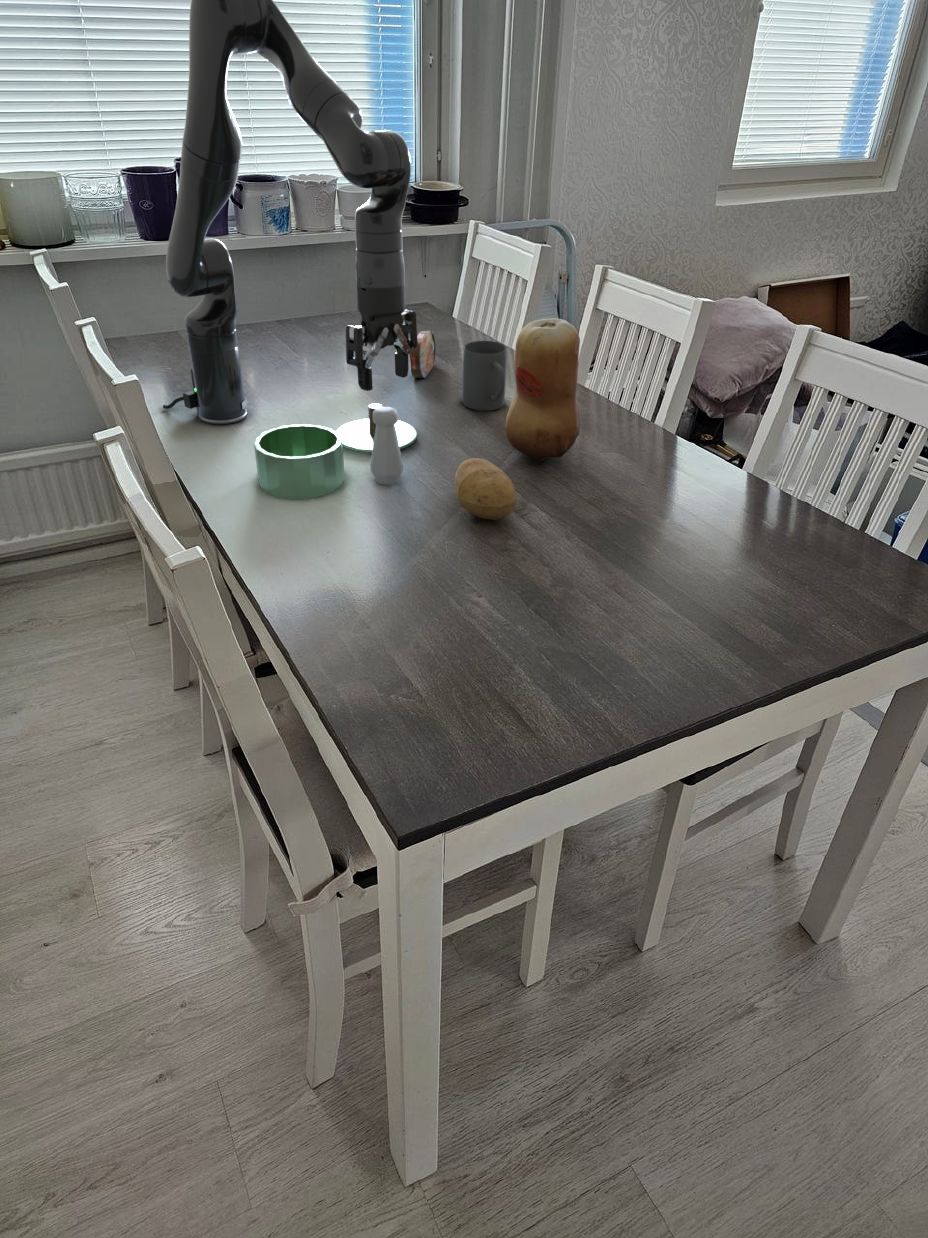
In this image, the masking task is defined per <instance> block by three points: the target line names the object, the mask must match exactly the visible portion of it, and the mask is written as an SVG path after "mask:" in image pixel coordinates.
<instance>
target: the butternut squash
mask: <svg viewBox="0 0 928 1238" xmlns="http://www.w3.org/2000/svg"><path fill="white" fill-rule="evenodd" d="M580 344H581V338H580V335H579V332H578V330H577V328H576V327H575V326H574V325H573V324H571V323H570V322H569V321H567V320H565V319H562V318H557V317H555V318H552V317H551V318H541V319H536V320H534V321H530V322H529V323H527V324H526V325H525V326H524V327H522V328H521V330H520V331H519V333H518V335H517V338H516V341H515V349H514V362H513V368H514V370H513V371H514V372H513V373H514V381H515V385H516V389H515V395H514V396H513V399H512V401H511V403H510V405H509V408H508V410H507V414H506V417H505V425H504V426H505V429H504V431H505V436H506V438H507V440H508V443H509V444H510V446H511V447H512V448H514V449H515V450H516V451H517V452H519V453H521V454H522V455H524V456H526V457H527V458H529V459H531V460H535V461H538V462H542V461H544V460H545V459H550V458H558V459H559V458H562V457H563V456H564V455H565V454H566V453H568V452H569V451H570V449H571V448H572V447H573V445H574V444H575V442H576V440H577V438H578V437H579V435H580V431H581V429H580V428H581V418H580V410H579V409H580V408H579V405H578V402H577V390H578V389H577V388H578V376H579V375H578V374H579V357H580Z"/></svg>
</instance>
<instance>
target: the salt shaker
mask: <svg viewBox="0 0 928 1238" xmlns="http://www.w3.org/2000/svg"><path fill="white" fill-rule="evenodd" d="M397 421H399V415H398V410H397V409H395V408H394V407H392V406H382V407H379V408H376V409H375V410H374V411H373V422H374V423H375V424H376V429H375V436H374V443H373V450H372V452H371V459H370V465H369V468H370V473H371V474H372V476H373V478H374V479H375V481H376V482H377V484H380V485H385V486H390V485H394V484H397V483H398V481H399V479H400V478H401V475H402V473H403V472H404V462H403V458H402V453H401V449H400V448H399V443H398V438H397V433H396V428H395V424H396V423H397Z"/></svg>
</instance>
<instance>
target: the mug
mask: <svg viewBox="0 0 928 1238" xmlns="http://www.w3.org/2000/svg"><path fill="white" fill-rule="evenodd" d="M507 363H508V348H507V346H506V345H505V344H503V343H501V342H498V341H491V340H476V341H475V340H474V341H470V342H467V343H466V344H464V345H463V352H462V379H461V380H462V385H461V386H462V390H461V391H462V397H461V399H462V403H463V404H462V405H464V407H466V408H467V409H471V410H473V411H481V412H482V411H483V412H485V411H494V410H498V409H500V408H502V407H503V406H504V405H505V401H506V384H507V365H508V364H507Z"/></svg>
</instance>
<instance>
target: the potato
mask: <svg viewBox="0 0 928 1238" xmlns="http://www.w3.org/2000/svg"><path fill="white" fill-rule="evenodd" d="M454 477H455V478H454V490H455V495H456V497H457V499H458V503H459V505H460V507H461V508H462V509H463V510H465V511H467V512H468V513H470V514H472V515H473V516H475V517H476V518H479V519H487V520H493V521H497V520H500V519H502V518H505V517H508V516H509V515H510V513H511V512H512V511H513V510H514V509H515V508H516V503H517V492H516V489H515V486H514V483H513V481H512V479H511V478H510V477H509V476H508V474H506V473H505V472H504V470H502V469H501V468H499V467H498V466H497V465H495V464H494V463H492V462H491V461H489V460H487V459H484V458H480V457H471V458H469V459H465V460H463V461H462V462H461V463H460V464H459V466H458V467H457V469H456V472H455V475H454Z"/></svg>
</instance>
